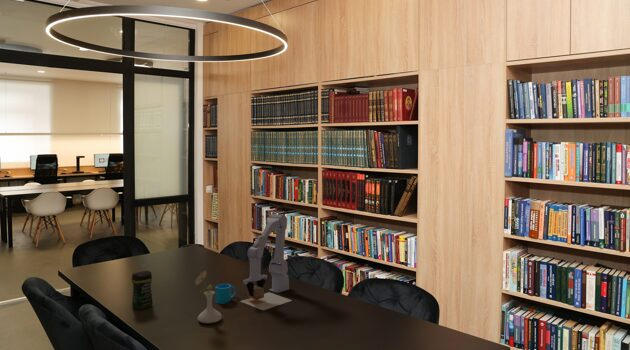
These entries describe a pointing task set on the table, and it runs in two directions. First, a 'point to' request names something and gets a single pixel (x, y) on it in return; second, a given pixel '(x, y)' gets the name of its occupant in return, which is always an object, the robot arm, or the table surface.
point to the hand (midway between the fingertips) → (255, 294)
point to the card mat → (266, 301)
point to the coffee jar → (142, 290)
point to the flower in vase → (208, 303)
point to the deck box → (256, 292)
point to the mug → (224, 293)
